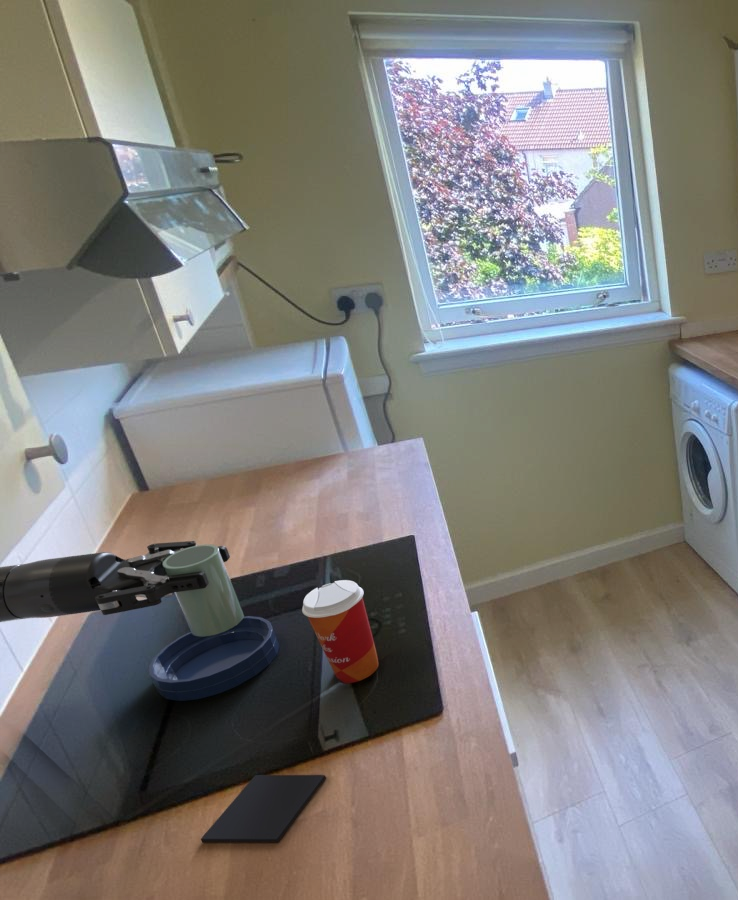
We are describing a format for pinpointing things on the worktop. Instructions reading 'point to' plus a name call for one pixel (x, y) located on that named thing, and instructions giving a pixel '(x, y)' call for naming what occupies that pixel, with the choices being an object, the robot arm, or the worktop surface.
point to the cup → (206, 591)
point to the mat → (264, 809)
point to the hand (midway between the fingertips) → (216, 566)
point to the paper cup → (342, 629)
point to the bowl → (213, 660)
